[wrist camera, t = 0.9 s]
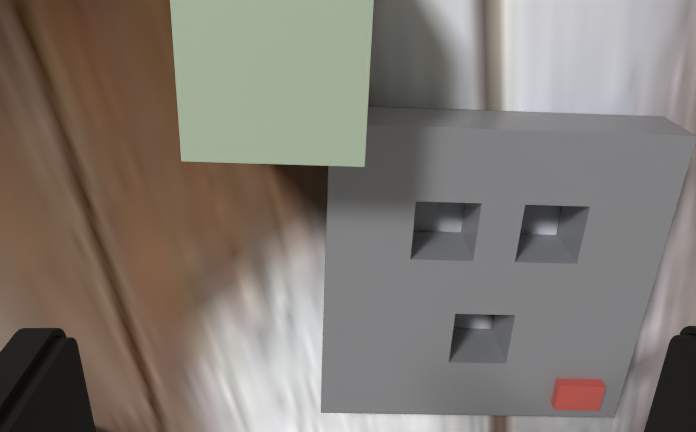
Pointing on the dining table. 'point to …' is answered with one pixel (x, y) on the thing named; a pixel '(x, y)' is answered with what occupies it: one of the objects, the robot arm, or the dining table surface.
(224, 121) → the plug
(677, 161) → the socket plate
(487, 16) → the dining table surface
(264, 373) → the dining table surface
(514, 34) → the dining table surface
